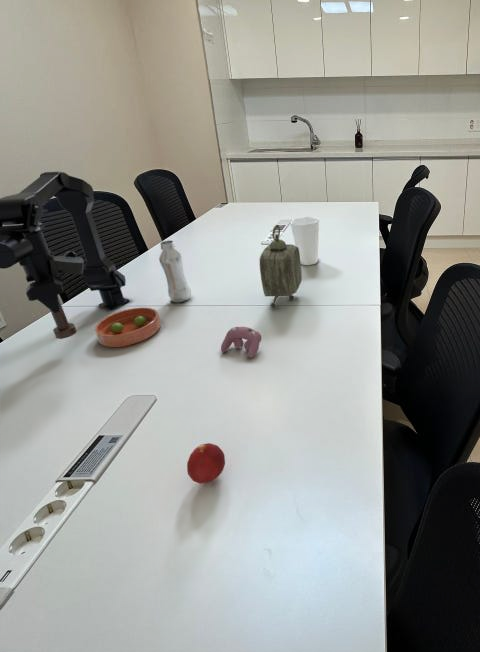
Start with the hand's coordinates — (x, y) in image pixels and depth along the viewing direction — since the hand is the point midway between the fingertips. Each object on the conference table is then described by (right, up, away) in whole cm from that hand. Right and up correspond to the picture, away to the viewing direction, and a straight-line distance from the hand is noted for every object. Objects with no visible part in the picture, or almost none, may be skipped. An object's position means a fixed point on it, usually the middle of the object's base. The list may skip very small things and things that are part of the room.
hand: (57, 310), depth 97 cm
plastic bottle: (+16, 0, +31) cm, 35 cm away
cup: (+53, +13, +58) cm, 80 cm away
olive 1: (+8, -6, +11) cm, 15 cm away
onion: (+51, -26, -31) cm, 65 cm away
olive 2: (+12, -5, +14) cm, 19 cm away
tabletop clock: (+51, 0, +29) cm, 58 cm away
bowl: (+11, -8, +13) cm, 18 cm away
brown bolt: (0, -6, +3) cm, 7 cm away
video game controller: (+45, -11, +4) cm, 47 cm away
